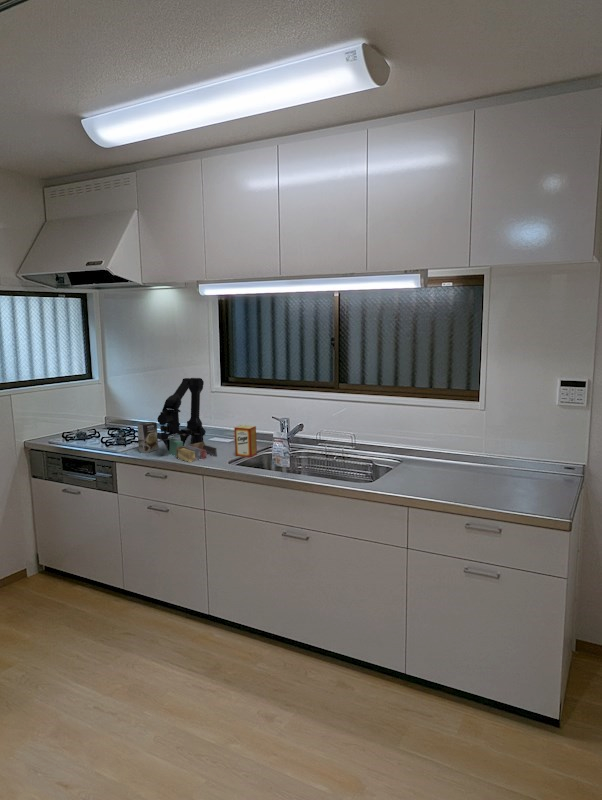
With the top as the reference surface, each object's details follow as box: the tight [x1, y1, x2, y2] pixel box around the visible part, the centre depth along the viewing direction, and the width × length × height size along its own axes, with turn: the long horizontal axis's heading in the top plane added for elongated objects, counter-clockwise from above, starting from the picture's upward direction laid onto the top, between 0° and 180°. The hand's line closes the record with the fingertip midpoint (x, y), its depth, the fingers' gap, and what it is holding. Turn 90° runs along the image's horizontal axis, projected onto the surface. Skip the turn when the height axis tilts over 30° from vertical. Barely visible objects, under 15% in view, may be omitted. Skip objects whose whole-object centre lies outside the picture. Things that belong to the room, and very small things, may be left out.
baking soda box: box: [234, 424, 258, 458], centre depth 300 cm, size 10×6×16 cm
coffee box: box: [137, 421, 159, 454], centre depth 315 cm, size 9×6×16 cm
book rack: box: [176, 441, 218, 463], centre depth 299 cm, size 17×12×6 cm
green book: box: [167, 437, 183, 457], centre depth 306 cm, size 4×11×8 cm, turn 43°
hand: (175, 449), depth 307 cm, fingers open, 8 cm apart
